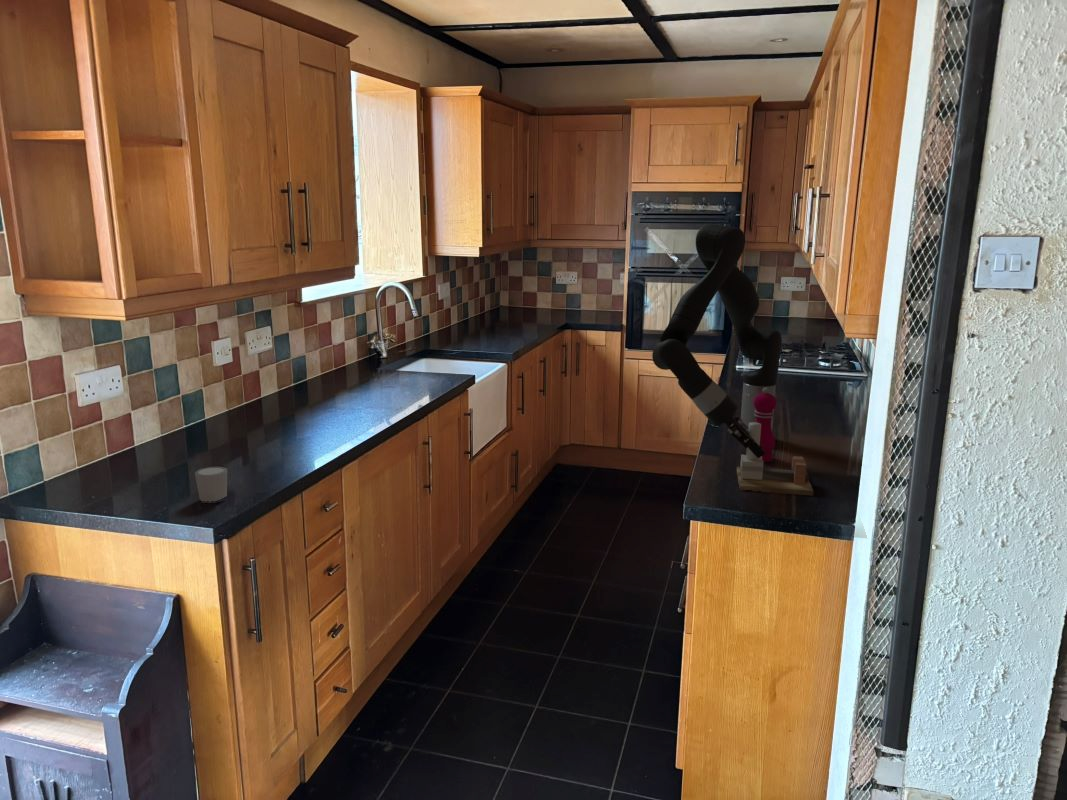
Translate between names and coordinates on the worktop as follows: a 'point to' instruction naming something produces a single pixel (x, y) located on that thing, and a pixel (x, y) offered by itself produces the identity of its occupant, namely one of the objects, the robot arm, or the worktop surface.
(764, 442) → the pepper mill
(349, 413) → the worktop surface
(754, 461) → the white handled block
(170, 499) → the worktop surface
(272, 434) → the worktop surface
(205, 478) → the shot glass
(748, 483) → the track
